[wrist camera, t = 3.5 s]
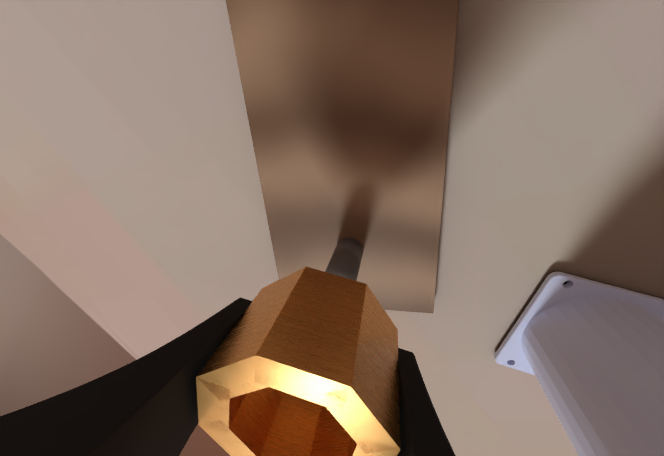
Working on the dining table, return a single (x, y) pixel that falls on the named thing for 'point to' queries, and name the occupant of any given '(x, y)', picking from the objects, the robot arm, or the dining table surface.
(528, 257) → the dining table surface
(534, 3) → the dining table surface
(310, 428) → the ring
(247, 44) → the rod board
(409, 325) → the dining table surface
